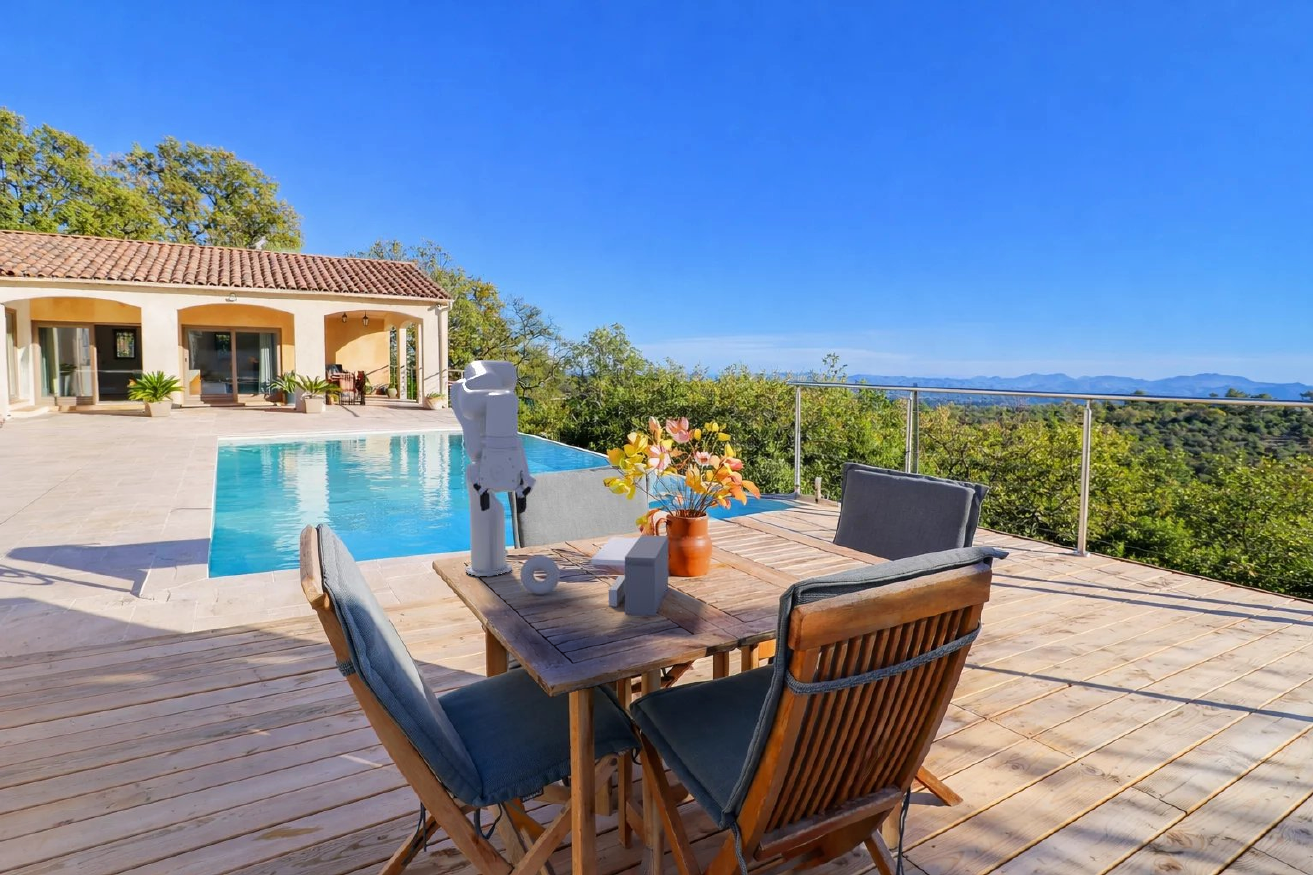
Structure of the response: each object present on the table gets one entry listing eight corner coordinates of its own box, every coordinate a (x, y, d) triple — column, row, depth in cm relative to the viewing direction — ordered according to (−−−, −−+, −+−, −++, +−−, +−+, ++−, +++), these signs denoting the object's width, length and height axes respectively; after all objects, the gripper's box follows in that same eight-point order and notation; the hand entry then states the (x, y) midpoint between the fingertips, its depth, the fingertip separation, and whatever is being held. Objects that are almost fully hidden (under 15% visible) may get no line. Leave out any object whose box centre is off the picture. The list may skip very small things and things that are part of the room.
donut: (519, 596, 176) (518, 557, 175) (522, 592, 180) (521, 553, 179) (559, 596, 176) (558, 557, 175) (561, 592, 180) (560, 553, 179)
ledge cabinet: (611, 584, 186) (611, 534, 185) (668, 586, 184) (668, 536, 183) (591, 612, 165) (590, 555, 163) (654, 615, 162) (654, 558, 161)
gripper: (462, 443, 171) (464, 512, 173) (528, 446, 167) (529, 517, 169) (477, 439, 178) (478, 505, 181) (541, 442, 174) (541, 510, 176)
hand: (503, 511), depth 175 cm, fingers open, 9 cm apart
